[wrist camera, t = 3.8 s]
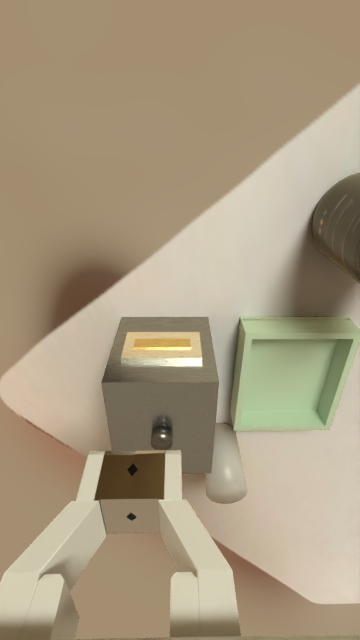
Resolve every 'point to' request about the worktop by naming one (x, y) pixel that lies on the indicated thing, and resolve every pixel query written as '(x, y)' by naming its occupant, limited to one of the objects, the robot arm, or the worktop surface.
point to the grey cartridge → (225, 468)
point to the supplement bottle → (340, 225)
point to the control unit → (163, 389)
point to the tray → (291, 371)
